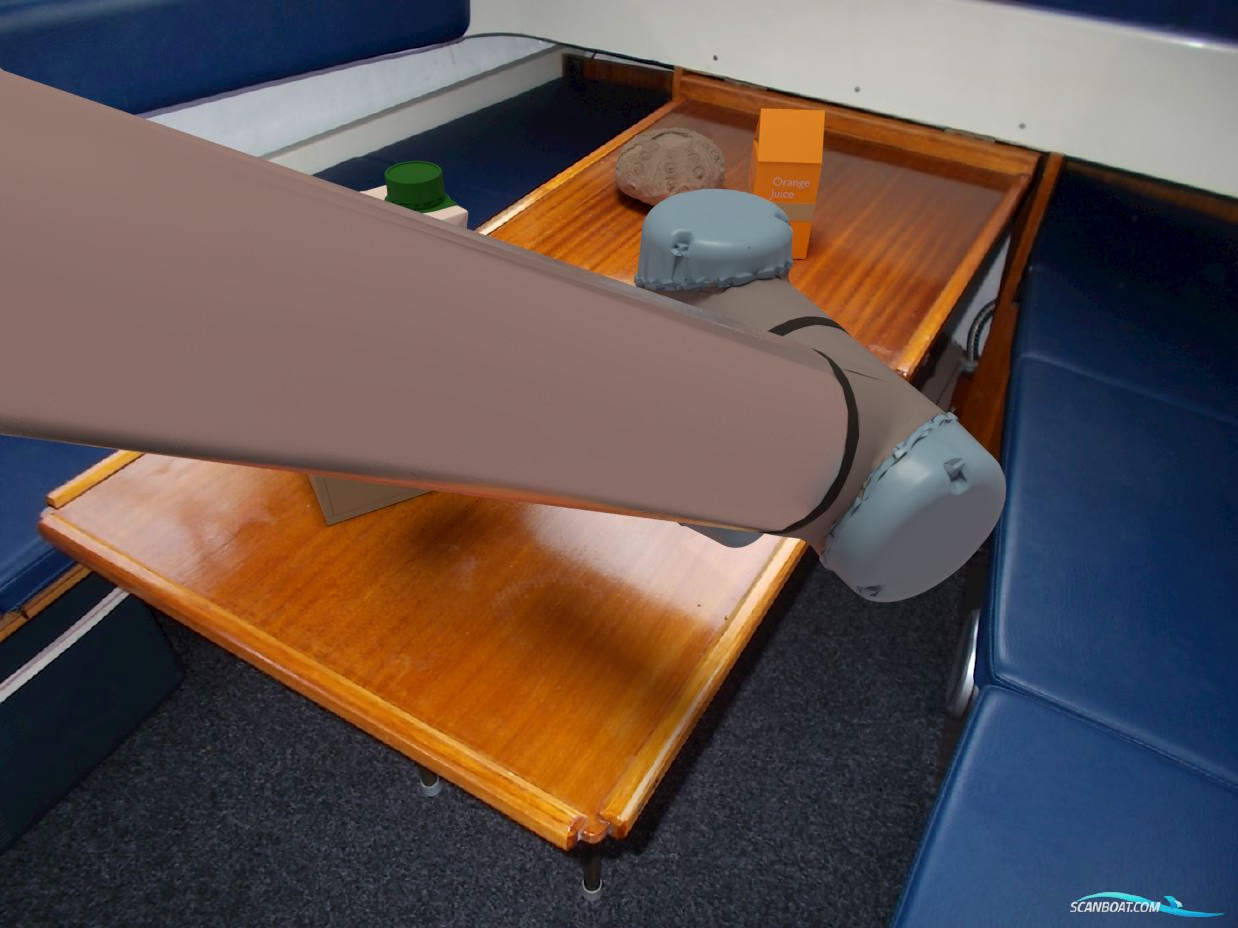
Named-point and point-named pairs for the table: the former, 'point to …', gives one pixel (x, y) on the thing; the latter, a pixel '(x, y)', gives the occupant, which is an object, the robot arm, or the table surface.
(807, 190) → the orange juice
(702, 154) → the decorative shell
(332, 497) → the open box
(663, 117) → the table surface
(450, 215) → the soya milk
